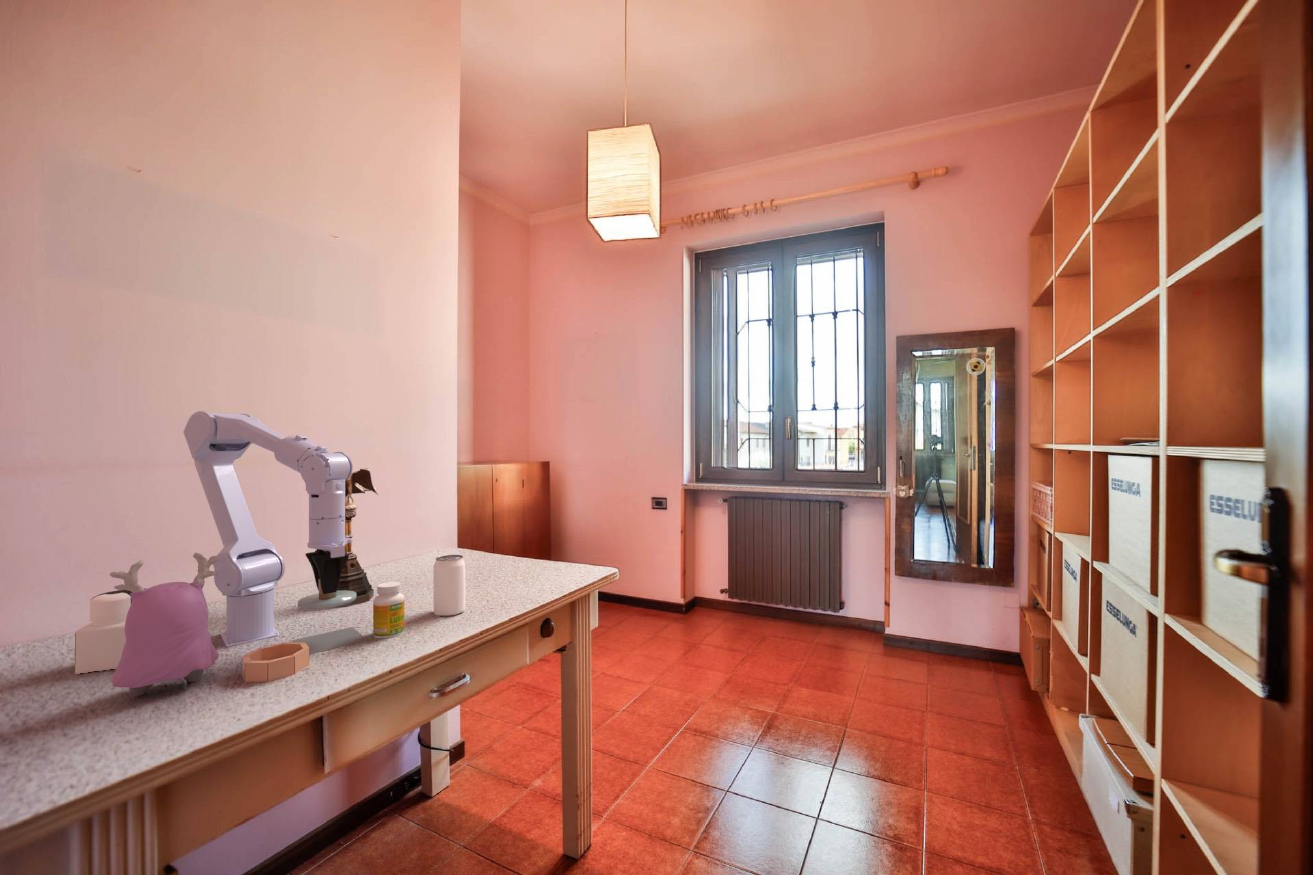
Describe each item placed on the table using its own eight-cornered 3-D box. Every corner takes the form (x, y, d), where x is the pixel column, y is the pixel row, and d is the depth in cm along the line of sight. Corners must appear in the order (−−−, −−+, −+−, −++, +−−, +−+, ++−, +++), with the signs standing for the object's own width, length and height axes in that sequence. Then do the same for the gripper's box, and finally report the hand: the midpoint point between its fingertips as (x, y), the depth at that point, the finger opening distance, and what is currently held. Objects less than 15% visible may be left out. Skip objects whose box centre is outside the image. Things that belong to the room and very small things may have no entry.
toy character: (217, 666, 87) (217, 545, 87) (221, 686, 79) (222, 554, 80) (112, 689, 78) (113, 557, 79) (106, 715, 71) (106, 568, 71)
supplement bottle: (391, 640, 97) (391, 588, 97) (366, 639, 98) (366, 587, 98) (410, 630, 103) (410, 581, 103) (386, 629, 104) (386, 580, 104)
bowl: (239, 672, 84) (239, 652, 84) (301, 656, 90) (301, 638, 90) (247, 688, 78) (247, 667, 78) (313, 671, 84) (312, 651, 84)
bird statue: (323, 591, 132) (322, 453, 132) (380, 586, 136) (380, 452, 136) (300, 610, 116) (300, 454, 117) (366, 604, 120) (366, 453, 121)
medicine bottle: (99, 659, 90) (100, 589, 90) (153, 652, 93) (153, 584, 93) (73, 675, 84) (74, 600, 84) (132, 667, 86) (132, 595, 87)
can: (471, 610, 115) (471, 556, 115) (445, 618, 109) (445, 561, 110) (453, 606, 118) (452, 553, 119) (427, 613, 113) (427, 558, 113)
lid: (292, 602, 96) (292, 578, 96) (348, 591, 103) (348, 569, 103) (304, 613, 90) (304, 587, 90) (363, 601, 96) (362, 577, 96)
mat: (292, 642, 97) (292, 640, 97) (352, 628, 104) (352, 626, 104) (304, 657, 90) (304, 655, 90) (367, 641, 97) (367, 639, 97)
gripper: (363, 518, 94) (363, 593, 94) (340, 512, 104) (340, 580, 104) (318, 523, 89) (318, 602, 89) (298, 515, 99) (298, 587, 99)
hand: (327, 591), depth 96 cm, fingers closed on lid, 3 cm apart
